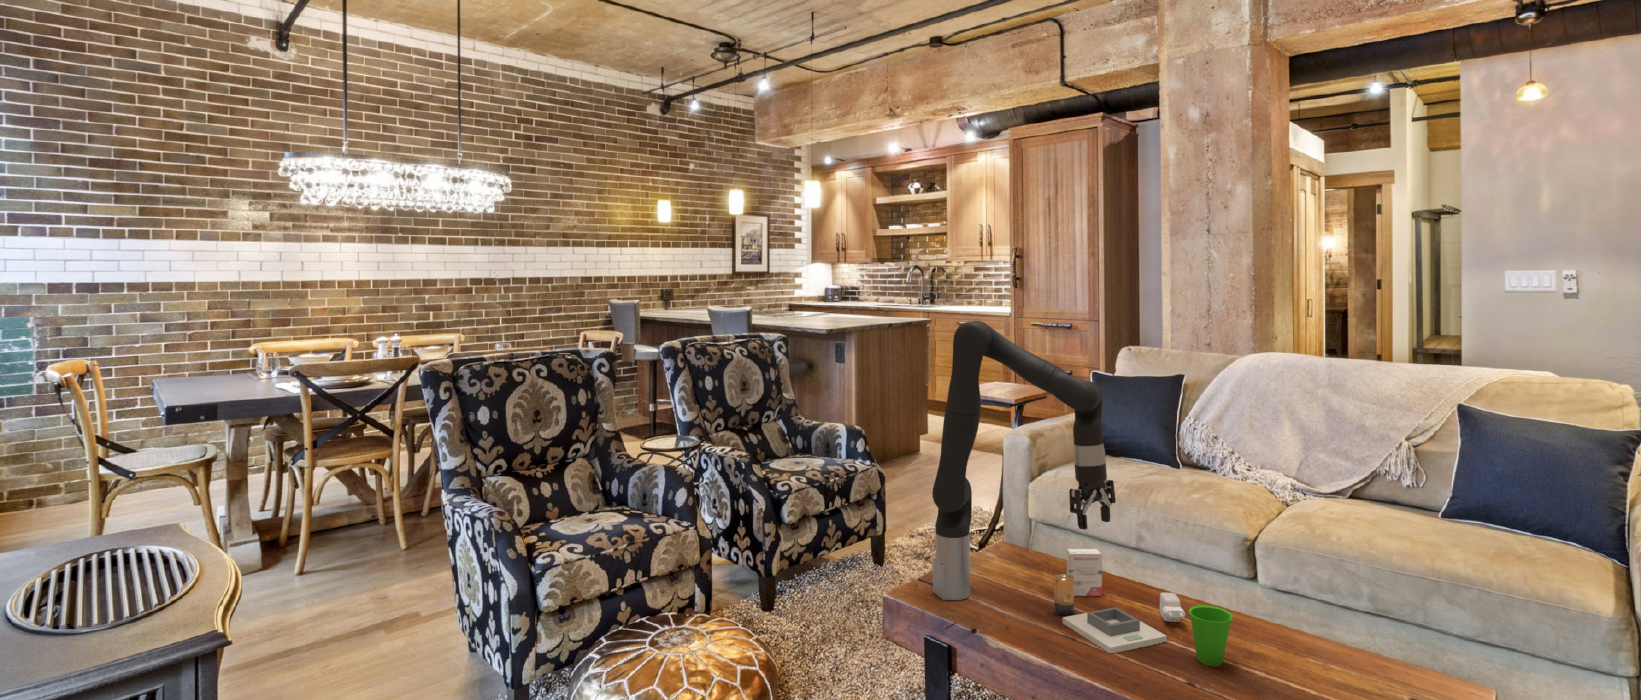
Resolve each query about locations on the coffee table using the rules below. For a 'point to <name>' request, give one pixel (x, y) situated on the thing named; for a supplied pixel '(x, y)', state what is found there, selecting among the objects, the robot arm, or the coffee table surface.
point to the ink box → (1085, 571)
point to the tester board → (1114, 630)
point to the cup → (1210, 633)
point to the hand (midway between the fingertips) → (1094, 525)
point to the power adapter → (1171, 608)
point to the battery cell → (1064, 595)
